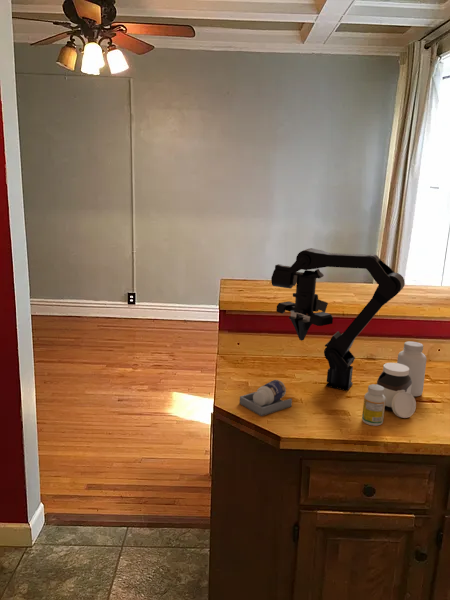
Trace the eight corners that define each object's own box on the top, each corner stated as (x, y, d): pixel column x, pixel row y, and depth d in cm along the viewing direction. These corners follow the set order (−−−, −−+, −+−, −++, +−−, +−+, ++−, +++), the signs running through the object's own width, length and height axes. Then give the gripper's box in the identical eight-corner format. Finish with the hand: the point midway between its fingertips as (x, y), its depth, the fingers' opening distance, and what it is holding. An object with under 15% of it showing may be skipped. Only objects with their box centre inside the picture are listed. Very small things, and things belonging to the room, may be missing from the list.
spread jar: (388, 397, 156) (392, 359, 153) (425, 410, 149) (430, 370, 146) (365, 408, 148) (370, 368, 145) (404, 423, 140) (409, 381, 137)
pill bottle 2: (424, 390, 162) (429, 342, 159) (420, 399, 155) (426, 349, 152) (396, 385, 165) (401, 338, 162) (392, 394, 158) (397, 345, 155)
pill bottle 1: (289, 387, 149) (270, 398, 141) (281, 401, 151) (262, 413, 144) (275, 375, 151) (255, 385, 143) (267, 389, 153) (247, 400, 146)
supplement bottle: (377, 428, 137) (381, 393, 134) (358, 421, 140) (361, 387, 138) (386, 421, 141) (390, 387, 139) (367, 414, 144) (371, 381, 142)
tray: (269, 394, 154) (269, 387, 154) (291, 406, 147) (292, 399, 147) (239, 403, 147) (239, 396, 147) (261, 416, 141) (261, 408, 140)
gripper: (347, 294, 160) (342, 344, 164) (302, 282, 174) (298, 328, 178) (321, 298, 153) (317, 350, 157) (276, 285, 167) (273, 333, 171)
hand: (301, 340), depth 166 cm, fingers closed
